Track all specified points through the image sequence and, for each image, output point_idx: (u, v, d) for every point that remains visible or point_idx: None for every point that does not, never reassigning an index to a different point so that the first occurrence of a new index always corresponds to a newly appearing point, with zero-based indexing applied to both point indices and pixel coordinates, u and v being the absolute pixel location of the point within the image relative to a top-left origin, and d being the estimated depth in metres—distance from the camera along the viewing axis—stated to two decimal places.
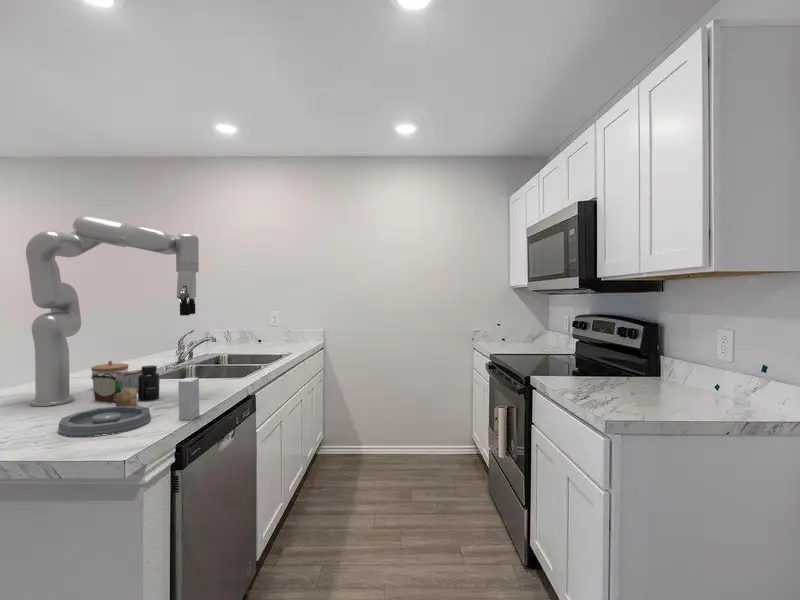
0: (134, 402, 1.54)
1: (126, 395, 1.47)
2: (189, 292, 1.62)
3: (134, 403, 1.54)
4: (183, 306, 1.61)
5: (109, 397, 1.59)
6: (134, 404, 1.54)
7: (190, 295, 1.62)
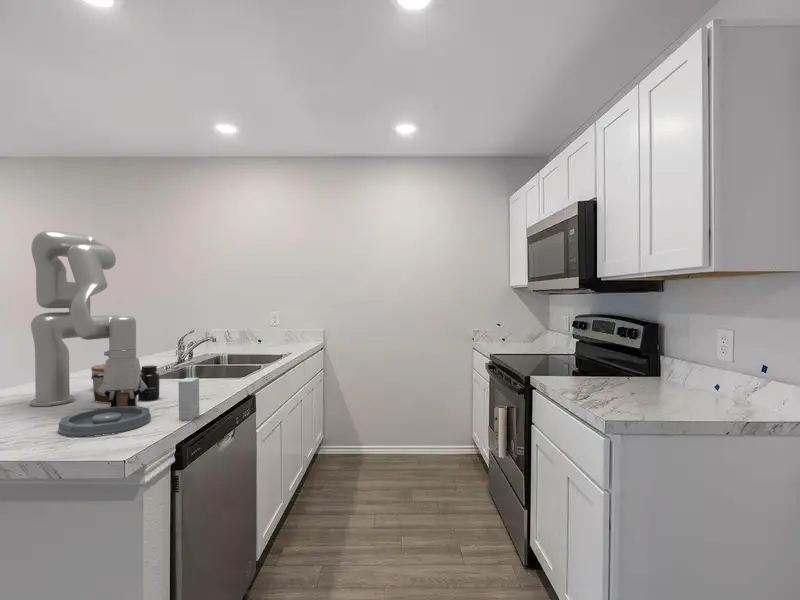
0: None
1: (126, 395, 1.47)
2: None
3: None
4: (134, 400, 1.48)
5: None
6: None
7: None
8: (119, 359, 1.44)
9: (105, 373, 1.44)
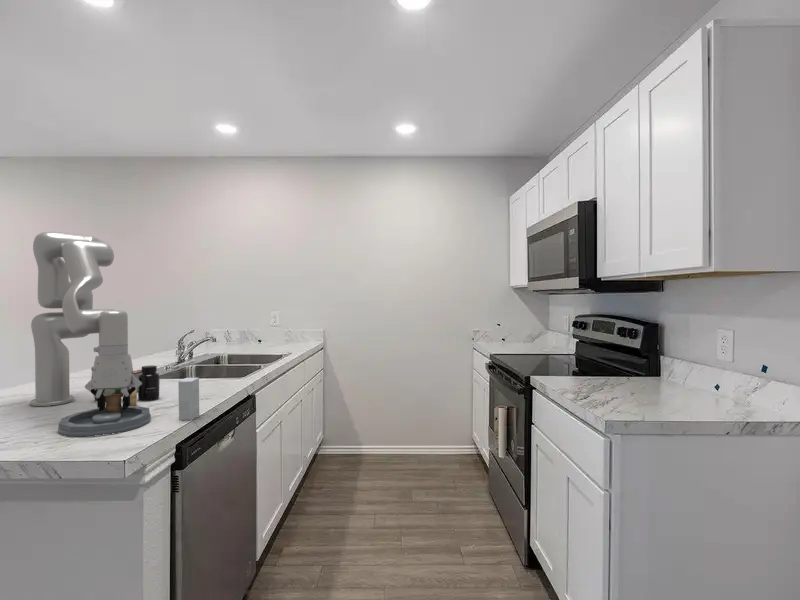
0: (134, 402, 1.54)
1: (117, 397, 1.38)
2: None
3: (134, 403, 1.54)
4: (128, 398, 1.40)
5: None
6: (134, 404, 1.54)
7: None
8: (109, 355, 1.35)
9: (94, 371, 1.35)
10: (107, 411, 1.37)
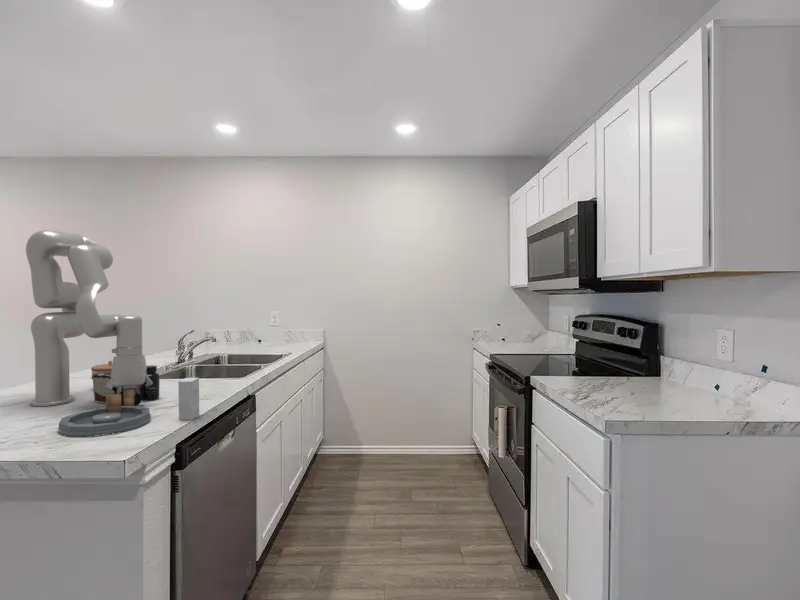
0: (134, 402, 1.54)
1: (117, 397, 1.38)
2: None
3: (134, 403, 1.54)
4: (140, 395, 1.55)
5: None
6: (134, 404, 1.54)
7: None
8: (126, 356, 1.51)
9: (113, 370, 1.51)
10: (107, 411, 1.37)
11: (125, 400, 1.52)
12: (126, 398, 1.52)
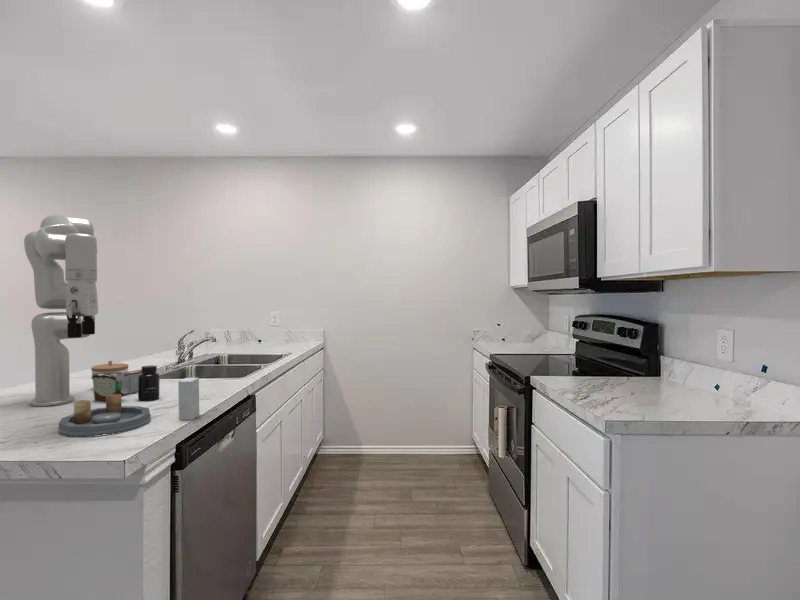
0: None
1: (117, 397, 1.38)
2: None
3: None
4: None
5: None
6: None
7: None
8: (96, 280, 1.32)
9: (85, 296, 1.28)
10: (107, 411, 1.37)
11: (88, 414, 1.31)
12: (89, 410, 1.32)
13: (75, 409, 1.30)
